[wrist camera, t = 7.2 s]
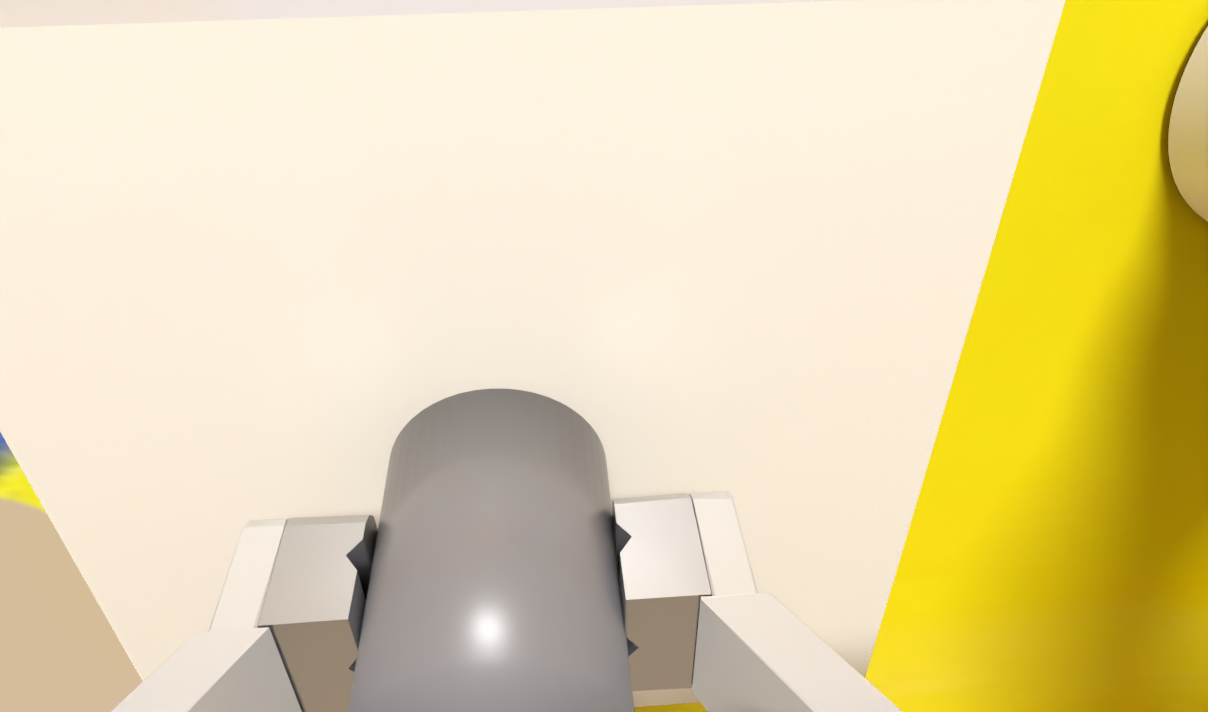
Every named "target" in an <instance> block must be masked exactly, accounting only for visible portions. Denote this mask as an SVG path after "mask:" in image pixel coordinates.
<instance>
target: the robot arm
mask: <svg viewBox="0 0 1208 712" xmlns="http://www.w3.org/2000/svg"><path fill="white" fill-rule="evenodd" d="M1168 152H1169V161H1170V166H1171V171H1172V175H1173V178H1174V181H1175V183H1176V185H1177V188H1178V190H1179V192H1180V193H1181V195H1182V197H1183V198H1184V200H1185V201H1186V202H1187V204H1188V205H1189V206H1190V207H1191V208H1192V209H1193V210H1194V211H1195V212H1196V213H1197V214H1198V215H1199V216H1201V217H1202V218H1203V219H1205V220H1206V221H1207V222H1208V26H1207V28H1206V30H1205V31H1204V33H1203V35H1202V36H1201V38H1200V40H1199V42H1198V43H1197V45H1196V47H1195V49H1194V51H1193V53H1192V55H1191V57H1190V59H1189V61H1188V64H1187V66H1186V68H1185V71H1184V73H1183V75H1182V78H1181V81H1180V84H1179V86H1178V89H1177V93H1176V96H1175V99H1174V103H1173V108H1172V112H1171V117H1170V124H1169V135H1168ZM612 523H613V532H614V541H615V551H616V557H617V561H618V569H619V578H620V583H619V586H620V595H621V603H622V612H623V620H624V629H625V635H626V640H627V648H628V657H629V666H630V675H631V684H632V691H645V690H665V689H686V688H692V692H693V694H694V695H695V696H696V697H697V699H698V700H699V701H700V702H701V704H702V705H703V706H704V708H705V709H706V710H707V711H708V712H902V711H901V710H900V709H899V708H898V707H896V706H895V705H894V704H893V703H892V702H891V701H890V700H889V699H888V698H886V697H885V696H884V695H883V694H882V693H881V692H880V691H879V690H878V689H876V688H875V687H874V686H873V685H872V684H871V683H870V682H869V681H868V680H866V679H865V678H864V677H863V676H862V675H861V674H860V673H859V672H858V671H857V670H855V669H854V668H853V667H852V666H851V665H850V664H849V663H848V662H847V661H845V660H844V659H843V658H842V657H841V656H840V655H839V654H838V653H837V652H835V651H834V650H833V649H832V648H831V647H830V646H829V645H828V644H827V643H825V642H824V641H823V640H822V639H821V638H820V637H819V636H818V635H817V634H815V633H814V632H813V631H812V630H811V629H810V628H809V627H808V626H807V625H806V624H804V623H803V622H802V621H801V620H800V619H799V618H798V617H797V616H796V615H794V614H793V613H792V612H791V611H790V610H789V609H788V608H787V607H786V606H784V605H783V604H782V603H781V602H780V601H779V600H778V599H777V598H776V597H774V596H773V595H772V594H771V593H770V592H765V593H758V590H757V586H756V583H755V579H754V575H753V572H752V568H751V564H750V560H749V557H748V553H747V549H746V546H745V542H744V538H743V534H742V531H741V527H740V523H739V519H738V516H737V512H736V508H735V505H734V501H733V497H732V495H731V494H730V493H729V492H728V490H727V491H713V492H698V493H690V494H688V493H681V494H667V495H654V496H640V497H627V498H613V499H612ZM377 532H378V529H377V526H376V522H375V519H374V516H371V515H351V516H325V517H300V518H289V519H265V520H249V522H248V523H247V524H246V525H245V527H244V528H243V529H242V531H241V533H240V536H239V539H238V542H237V545H236V548H235V551H234V555H233V558H232V561H231V564H230V567H229V570H228V573H227V576H226V579H225V582H224V585H223V588H222V591H221V594H220V597H219V600H218V603H217V606H216V609H215V613H214V616H213V619H212V622H211V625H210V628H209V631H204V632H196V633H195V634H194V635H192V636H191V637H190V638H189V639H188V640H187V641H186V642H185V643H184V644H183V645H182V646H181V647H180V648H178V649H177V650H176V651H175V652H174V653H173V654H172V655H171V656H170V657H169V658H168V659H167V660H166V661H165V662H163V663H162V664H161V665H160V666H159V667H158V668H157V669H156V670H155V671H154V672H153V673H152V674H151V675H149V676H148V677H147V678H146V679H145V680H144V681H143V682H142V683H141V684H140V685H139V686H138V687H137V688H135V690H133V691H132V692H131V693H130V694H129V695H128V696H127V697H126V698H125V699H124V700H123V701H122V702H120V703H119V704H118V705H117V706H116V707H115V708H114V709H113V710H112V711H111V712H348V708H349V702H350V696H351V690H352V684H353V678H354V672H355V666H356V660H357V654H358V648H359V641H360V635H361V629H362V623H363V617H364V611H365V605H366V599H367V593H368V587H369V581H370V574H371V568H372V562H373V556H374V550H375V544H376V538H377Z"/></svg>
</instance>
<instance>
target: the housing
mask: <svg viewBox="0 0 1208 712" xmlns="http://www.w3.org/2000/svg"><path fill="white" fill-rule="evenodd" d="M1064 4H1065V0H0V432H1V434H2V435H3V437H4V439H5V441H6V442H7V444H8V446H9V448H10V449H11V451H12V453H13V455H14V456H15V458H16V460H17V462H18V464H19V465H20V467H21V469H22V471H23V472H24V474H25V476H26V478H27V479H28V481H29V483H30V485H31V486H32V488H33V490H34V492H35V493H36V495H37V497H38V499H39V500H40V502H41V504H42V506H43V507H44V509H45V511H46V513H47V514H48V516H49V518H50V520H51V521H52V523H53V525H54V527H55V528H56V530H57V532H58V533H59V535H60V537H61V539H62V541H63V542H64V544H65V546H66V548H67V549H68V551H69V553H70V555H71V556H72V558H73V560H74V562H75V563H76V565H77V567H78V568H79V571H80V572H81V574H82V576H83V578H84V579H85V581H86V583H87V585H88V586H89V588H90V590H91V591H92V593H93V595H94V597H95V599H96V600H97V602H98V604H99V606H100V607H101V609H102V611H103V613H104V614H105V616H106V618H107V620H108V621H109V623H110V625H111V627H112V628H113V630H114V632H115V634H116V635H117V637H118V639H119V641H120V642H121V644H122V646H123V647H124V650H125V651H126V653H127V655H128V656H129V658H130V660H131V662H132V664H133V665H134V667H135V669H136V671H137V672H138V674H139V676H140V678H141V679H142V681H144V680H145V679H146V678H147V677H148V676H149V675H151V674H152V673H153V672H154V671H155V670H156V669H157V668H158V667H159V666H160V665H161V664H162V663H163V662H165V661H166V660H167V659H168V658H169V657H170V656H171V655H172V654H173V653H174V652H175V651H176V650H177V649H178V648H180V647H181V646H182V645H183V644H184V643H185V642H186V641H187V640H188V639H189V638H190V637H191V636H192V635H194V634H195V633H196V632H204V631H209V628H210V625H211V622H212V619H213V616H214V613H215V609H216V606H217V603H218V600H219V597H220V594H221V591H222V588H223V585H224V582H225V579H226V576H227V573H228V570H229V567H230V564H231V561H232V558H233V555H234V551H235V548H236V545H237V542H238V539H239V536H240V533H241V531H242V529H243V528H244V527H245V525H246V524H247V523H248V522H249V520H265V519H289V518H300V517H325V516H351V515H371V516H374V519H375V522H376V526H377V529H378V532H377V538H376V544H375V550H374V556H373V562H372V568H371V574H370V581H369V587H368V593H367V599H366V605H365V611H364V617H363V623H362V629H361V635H360V641H359V648H358V654H357V660H356V666H355V672H354V678H353V684H352V690H351V696H350V702H349V708H348V712H635V710H634V707H646V706H659V705H672V704H685V703H698V702H700V701H699V700H698V699H697V697H696V696H695V695H694V694H693V692H692V688H686V689H665V690H645V691H632V684H631V675H630V666H629V657H628V648H627V640H626V635H625V629H624V620H623V612H622V603H621V595H620V586H619V583H620V578H619V569H618V561H617V557H616V551H615V541H614V532H613V523H612V499H613V498H627V497H640V496H654V495H667V494H681V493H688V494H690V493H698V492H713V491H727V490H728V492H729V493H730V494H731V495H732V497H733V501H734V505H735V508H736V512H737V516H738V519H739V523H740V527H741V531H742V534H743V538H744V542H745V546H746V549H747V553H748V557H749V560H750V564H751V568H752V572H753V575H754V579H755V583H756V586H757V590H758V593H765V592H770V593H771V594H772V595H773V596H774V597H776V598H777V599H778V600H779V601H780V602H781V603H782V604H783V605H784V606H786V607H787V608H788V609H789V610H790V611H791V612H792V613H793V614H794V615H796V616H797V617H798V618H799V619H800V620H801V621H802V622H803V623H804V624H806V625H807V626H808V627H809V628H810V629H811V630H812V631H813V632H814V633H815V634H817V635H818V636H819V637H820V638H821V639H822V640H823V641H824V642H825V643H827V644H828V645H829V646H830V647H831V648H832V649H833V650H834V651H835V652H837V653H838V654H839V655H840V656H841V657H842V658H843V659H844V660H845V661H847V662H848V663H849V664H850V665H851V666H852V667H853V668H854V669H855V670H857V671H858V672H859V673H860V674H861V675H862V676H863V677H864V678H865V675H866V672H867V668H868V665H869V662H870V658H871V655H872V652H873V648H874V645H875V642H876V638H877V635H878V631H879V628H880V625H881V621H882V618H883V615H884V611H885V608H886V604H887V601H888V598H889V594H890V591H891V588H892V584H893V581H894V577H895V574H896V571H897V567H898V564H899V561H900V557H901V554H902V550H903V547H904V544H905V540H906V537H907V534H908V530H909V527H910V523H911V520H912V517H913V513H914V510H915V507H916V503H917V500H918V496H919V493H920V490H921V486H922V483H923V480H924V476H925V473H926V469H927V466H928V463H929V459H930V456H931V453H932V449H933V446H934V442H935V439H936V436H937V432H938V429H939V426H940V422H941V419H942V415H943V412H944V409H945V405H946V402H947V399H948V395H949V392H950V388H951V385H952V382H953V378H954V375H955V372H956V368H957V365H958V361H959V358H960V355H961V351H962V348H963V345H964V341H965V338H966V334H967V331H968V328H969V324H970V321H971V318H972V314H973V311H974V307H975V304H976V301H977V297H978V294H979V291H980V287H981V284H982V280H983V277H984V274H985V270H986V267H987V264H988V260H989V257H990V253H991V250H992V247H993V243H994V240H995V237H996V233H997V230H998V226H999V223H1000V220H1001V216H1002V213H1003V210H1004V206H1005V203H1006V199H1007V196H1008V193H1009V189H1010V186H1011V183H1012V179H1013V176H1014V172H1015V169H1016V166H1017V162H1018V159H1019V156H1020V152H1021V149H1022V145H1023V142H1024V139H1025V135H1026V132H1027V129H1028V125H1029V122H1030V118H1031V115H1032V112H1033V108H1034V105H1035V102H1036V98H1037V95H1038V91H1039V88H1040V85H1041V81H1042V78H1043V75H1044V71H1045V68H1046V64H1047V61H1048V58H1049V54H1050V51H1051V48H1052V44H1053V41H1054V37H1055V34H1056V31H1057V27H1058V24H1059V21H1060V17H1061V14H1062V10H1063V7H1064Z"/></svg>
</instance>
